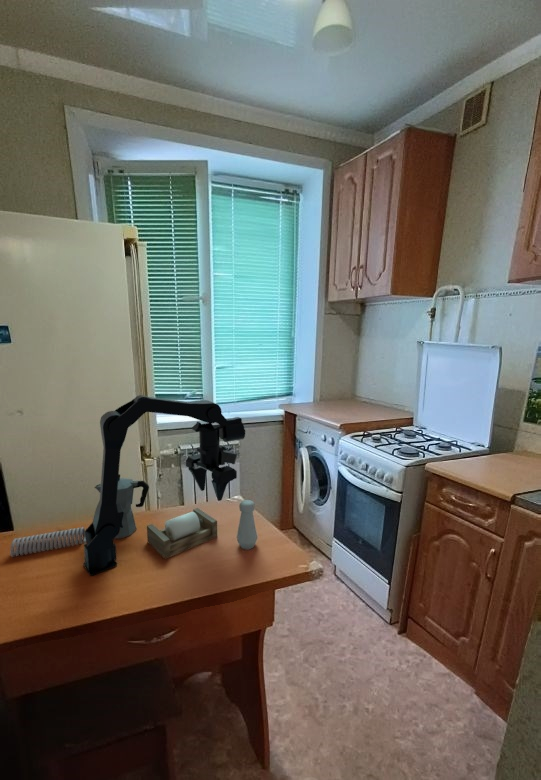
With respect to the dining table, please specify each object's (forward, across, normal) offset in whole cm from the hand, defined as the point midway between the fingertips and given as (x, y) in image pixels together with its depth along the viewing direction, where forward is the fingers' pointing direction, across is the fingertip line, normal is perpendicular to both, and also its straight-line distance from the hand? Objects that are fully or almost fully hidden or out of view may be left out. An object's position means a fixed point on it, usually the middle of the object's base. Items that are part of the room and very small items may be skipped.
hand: (211, 495), depth 108 cm
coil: (+12, +23, +38) cm, 46 cm away
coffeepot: (+12, +19, +19) cm, 30 cm away
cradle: (+12, +3, +8) cm, 15 cm away
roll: (+11, +3, +8) cm, 14 cm away
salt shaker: (+12, -12, -4) cm, 18 cm away
